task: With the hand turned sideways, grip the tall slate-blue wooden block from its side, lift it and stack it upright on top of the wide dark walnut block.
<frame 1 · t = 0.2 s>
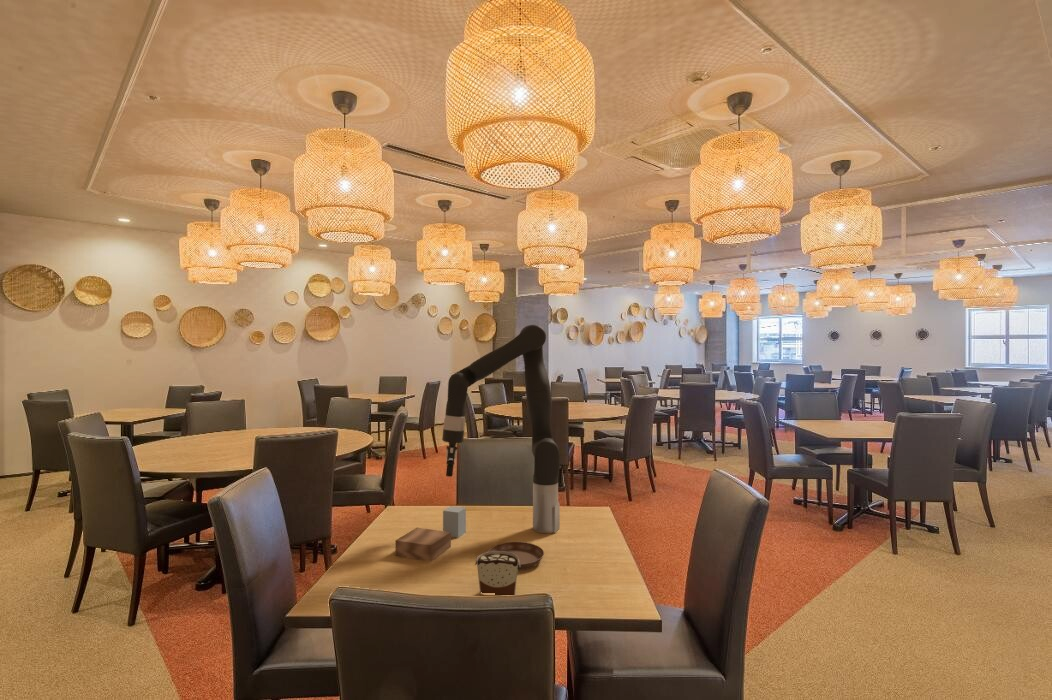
hand: (449, 473, 192), 22 cm above the table, tool pointing down, fingers open, 8 cm apart
slate block: (454, 534, 192), on the table
food container: (499, 591, 147), on the table
plant saucer: (515, 562, 168), on the table
walnut block: (423, 551, 175), on the table
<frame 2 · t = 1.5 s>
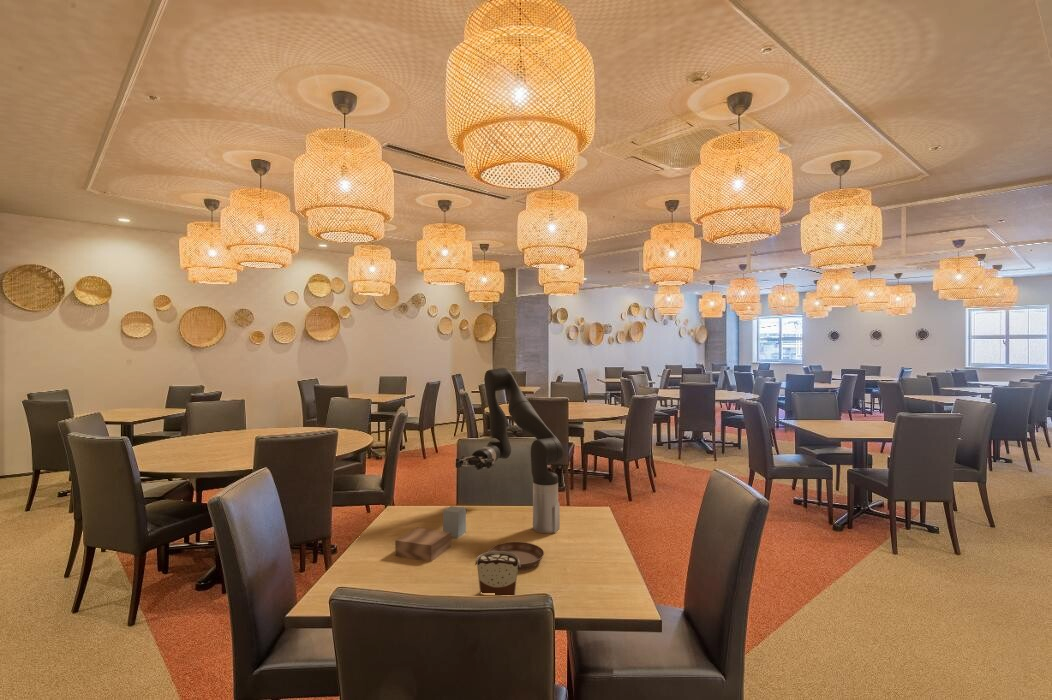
hand: (467, 466, 201), 22 cm above the table, tool horizontal, fingers open, 8 cm apart
nothing on the table moved.
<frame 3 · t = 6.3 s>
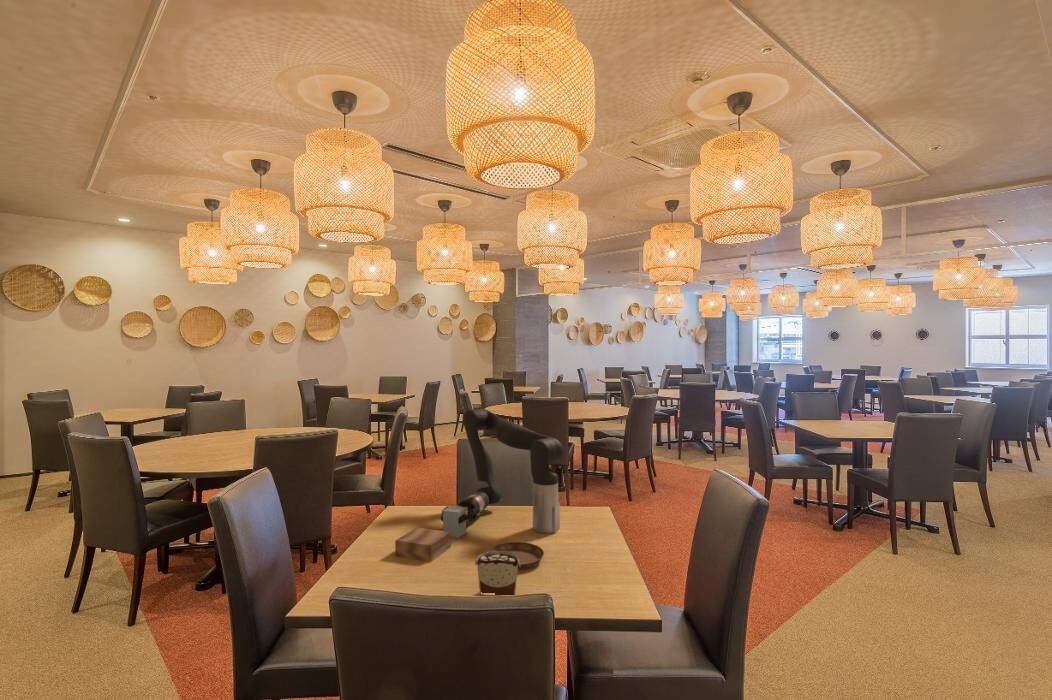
hand: (450, 519, 189), 6 cm above the table, tool horizontal, fingers closed on slate block, 6 cm apart
slate block: (454, 534, 192), on the table, touching gripper
everything else where it was.
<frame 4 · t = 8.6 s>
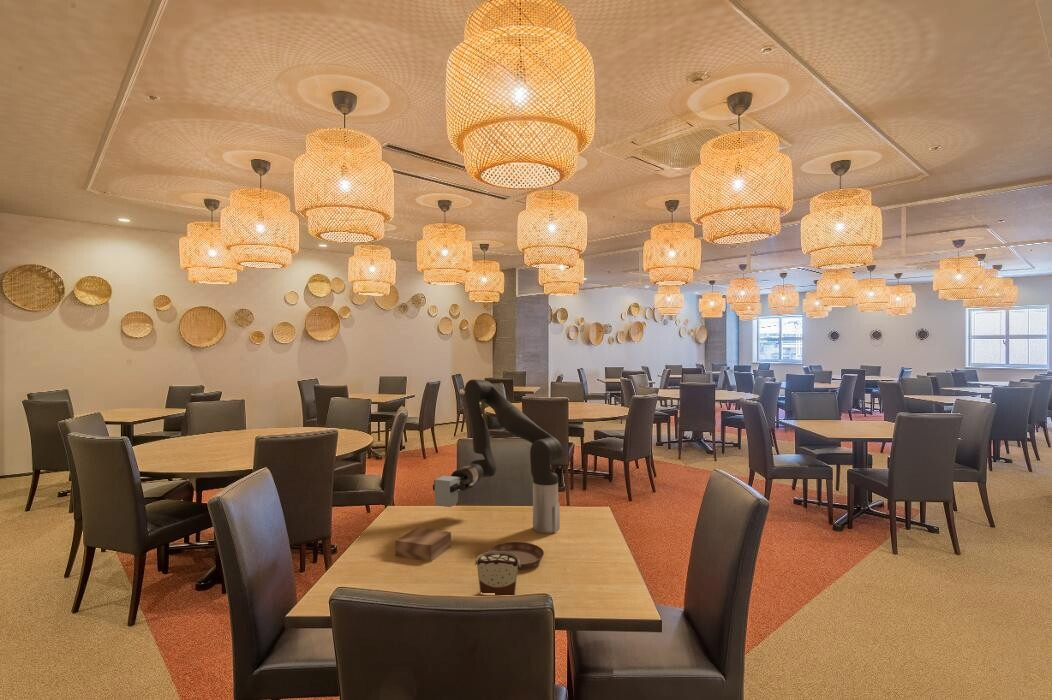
hand: (442, 488, 185), 18 cm above the table, tool horizontal, fingers closed on slate block, 6 cm apart
slate block: (446, 503, 188), point 12 cm above the table, touching gripper
everything else where it was.
when the fingers open (12 cm above the table, at t = 11.3 s): slate block stays where it is, resting on walnut block.
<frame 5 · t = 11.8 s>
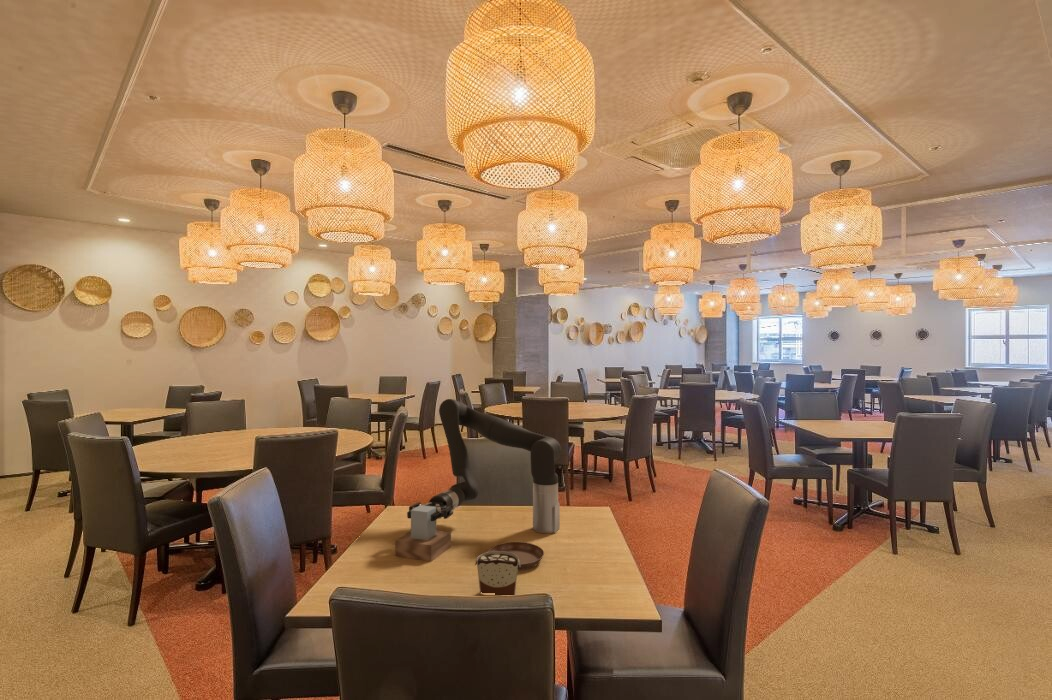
hand: (420, 516, 173), 12 cm above the table, tool horizontal, fingers open, 8 cm apart
slate block: (423, 536, 175), point 5 cm above the table, touching walnut block
everything else where it was.
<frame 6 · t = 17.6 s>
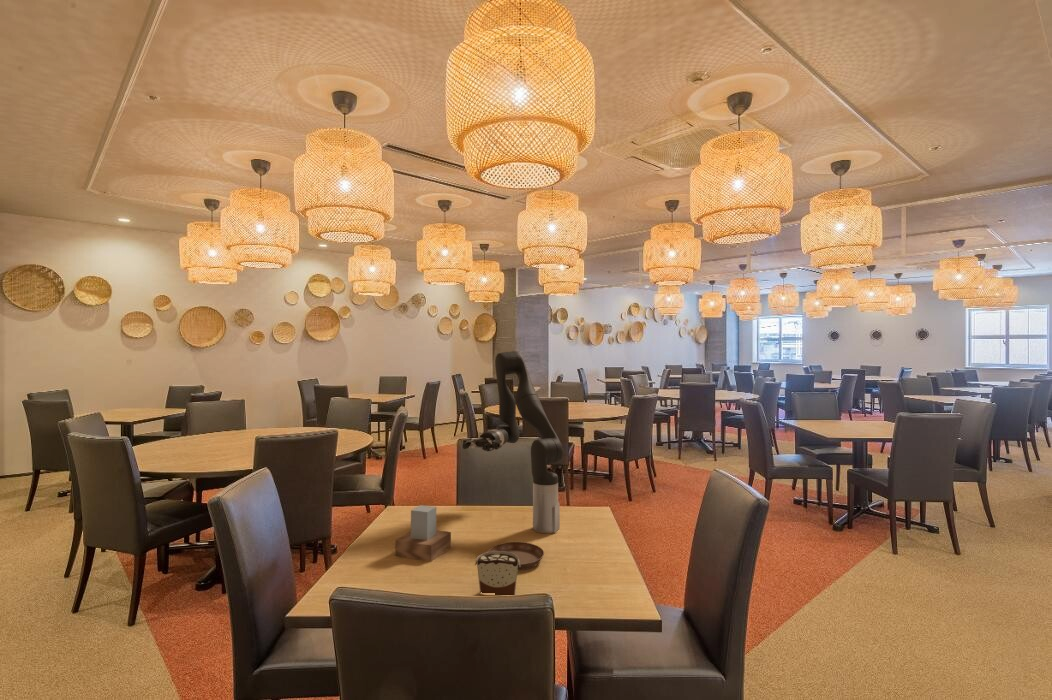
hand: (474, 447, 198), 30 cm above the table, tool horizontal, fingers open, 8 cm apart
nothing on the table moved.
at the end: slate block inside the target area on the walnut block (0.0 cm from its centre), point 5.0 cm above the walnut block's base; slate block tilted 0°; the gripper is holding nothing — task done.
